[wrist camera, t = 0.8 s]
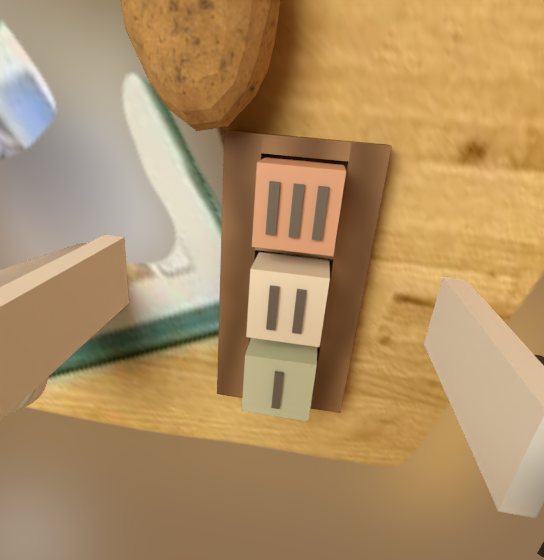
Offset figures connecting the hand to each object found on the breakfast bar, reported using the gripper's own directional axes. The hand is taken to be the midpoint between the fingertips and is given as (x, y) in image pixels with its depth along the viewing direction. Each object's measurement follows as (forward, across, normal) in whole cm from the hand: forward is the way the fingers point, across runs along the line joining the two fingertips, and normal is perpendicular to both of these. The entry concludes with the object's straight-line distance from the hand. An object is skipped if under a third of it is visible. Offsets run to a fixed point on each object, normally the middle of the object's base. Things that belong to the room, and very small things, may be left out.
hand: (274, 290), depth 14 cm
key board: (+18, 0, -7) cm, 20 cm away
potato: (+18, -7, +12) cm, 23 cm away
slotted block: (+17, 0, -15) cm, 22 cm away
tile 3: (+17, 0, 0) cm, 17 cm away
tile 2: (+17, 0, -7) cm, 18 cm away
